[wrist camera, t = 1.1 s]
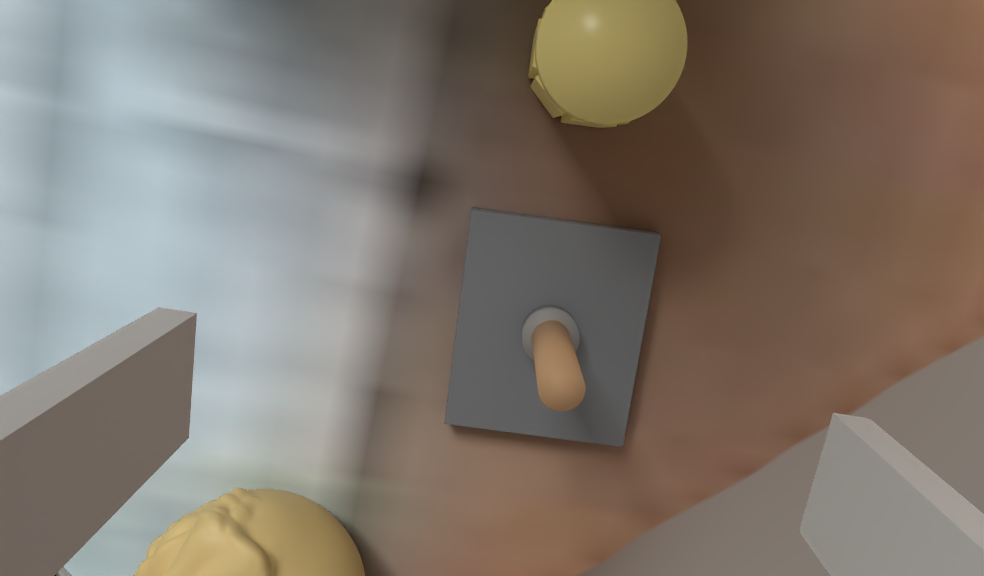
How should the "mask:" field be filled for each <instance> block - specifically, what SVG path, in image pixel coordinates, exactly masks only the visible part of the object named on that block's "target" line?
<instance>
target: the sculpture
mask: <svg viewBox="0 0 984 576" xmlns="http://www.w3.org/2000/svg"><path fill="white" fill-rule="evenodd" d="M146 558H147V559H146V560H144V561H143V562H142V563H141V564H140V565H139V567H138V570H137V571H136V573H135V574H134V576H365V572H364V567H363V563H362V560H361V557H360V554H359V552H358V549H357V547H356V545H355V543H354V542H353V540H352V538H351V537H350V535H349V533H348V532H347V531H346V529H345V528H344V527H343V526H342V524H341V523H340V522H339V521H338V520H337V519H336V518H335V517H334V516H333V515H332V514H331V513H329V512H328V511H327V510H326V509H324V508H323V507H321V506H320V505H318V504H317V503H315V502H313V501H311V500H309V499H307V498H305V497H302V496H300V495H297V494H294V493H290V492H286V491H281V490H273V489H256V490H246V489H242V488H237V489H234V490H232V491H231V492H229V494H224V495H222V496H220V497H219V498H218V499H215V500H212V501H210V502H208V503H206V504H205V505H203V506H202V507H200V508H198V509H197V510H196V511H194V512H193V513H189V514H186V515H184V516H183V517H182V518H180V519H179V520H178V521H177V522H174V523H173V524H171V525H170V526H169V528H168V529H167V532H166V533H164V534H163V535H161V536H159V537H157V538H156V539H155V540H154V541H153V543H152V544H151V545H150V546H149V548H148V551H147V556H146Z"/></svg>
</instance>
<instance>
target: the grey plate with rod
mask: <svg viewBox="0 0 984 576" xmlns="http://www.w3.org/2000/svg"><path fill="white" fill-rule="evenodd" d="M660 240H661V235H660V234H659V233H657V232H653V231H645V230H638V229H630V228H623V227H616V226H608V225H601V224H593V223H586V222H578V221H571V220H563V219H556V218H549V217H541V216H534V215H526V214H519V213H511V212H504V211H496V210H489V209H482V208H474V207H472V210H471V217H470V225H469V233H468V241H467V249H466V257H465V265H464V273H463V281H462V288H461V296H460V304H459V312H458V320H457V328H456V336H455V344H454V352H453V360H452V368H451V376H450V383H449V391H448V399H447V407H446V415H445V423H444V424H450V425H458V426H465V427H473V428H480V429H488V430H496V431H503V432H511V433H518V434H526V435H534V436H541V437H549V438H556V439H564V440H572V441H579V442H587V443H594V444H602V445H610V446H617V447H623V442H624V436H625V431H626V425H627V420H628V415H629V409H630V404H631V398H632V393H633V387H634V382H635V376H636V371H637V365H638V360H639V355H640V349H641V344H642V338H643V333H644V327H645V322H646V316H647V311H648V305H649V300H650V295H651V289H652V284H653V278H654V273H655V267H656V262H657V256H658V251H659V245H660Z"/></svg>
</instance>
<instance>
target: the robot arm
mask: <svg viewBox="0 0 984 576" xmlns="http://www.w3.org/2000/svg"><path fill="white" fill-rule="evenodd" d="M196 317H197V313H192V312H185V311H179V310H173V309H166V308H160V307H159V308H157V309H155V310H153V311H151V312H150V313H148V314H146V315H144V316H143V317H141V318H139V319H137V320H135V321H134V322H132V323H130V324H128V325H126V326H125V327H123V328H121V329H119V330H117V331H116V332H114V333H112V334H110V335H109V336H107V337H105V338H103V339H101V340H100V341H98V342H96V343H94V344H92V345H91V346H89V347H87V348H85V349H84V350H82V351H80V352H78V353H76V354H75V355H73V356H71V357H69V358H67V359H66V360H64V361H62V362H60V363H59V364H57V365H55V366H53V367H51V368H50V369H48V370H46V371H44V372H42V373H41V374H39V375H37V376H35V377H34V378H32V379H30V380H28V381H26V382H25V383H23V384H21V385H19V386H17V387H16V388H14V389H12V390H10V391H9V392H7V393H5V394H3V395H1V396H0V576H54V575H55V574H56V573H57V572H58V571H59V570H60V569H61V568H62V567H63V566H64V565H65V564H66V563H67V562H68V561H69V560H70V559H71V558H72V557H73V556H74V555H75V554H76V553H77V552H78V551H79V550H80V549H81V548H82V547H83V546H84V545H85V544H86V542H87V541H88V540H89V539H90V538H91V537H92V536H93V535H94V534H95V533H96V532H97V531H98V530H99V529H100V528H101V527H102V526H103V525H104V524H105V523H106V522H107V521H108V520H109V519H110V518H111V517H112V516H113V515H114V514H115V513H116V512H117V511H118V510H119V509H120V508H121V507H122V506H123V505H124V504H125V503H126V501H127V500H128V499H129V498H130V497H131V496H132V495H133V494H134V493H135V492H136V491H137V490H138V489H139V488H140V487H141V486H142V485H143V484H144V483H145V482H146V481H147V480H148V479H149V478H150V477H151V476H152V475H153V474H154V473H155V472H156V471H157V470H158V469H159V468H160V467H161V466H162V465H163V464H164V463H165V462H166V461H167V459H168V458H169V457H170V456H171V455H172V454H173V453H174V452H175V451H176V450H177V449H178V448H179V447H180V446H181V445H182V444H183V443H184V442H185V441H186V440H187V439H188V438H189V425H190V409H191V394H192V378H193V363H194V348H195V332H196ZM799 532H800V533H801V535H802V536H803V538H804V539H805V541H806V542H807V544H808V545H809V546H810V548H811V549H812V551H813V552H814V554H815V555H816V556H817V558H818V559H819V561H820V562H821V563H822V565H823V566H824V568H825V569H826V571H827V572H828V573H829V575H830V576H984V514H983V513H982V512H981V511H979V510H978V509H977V508H976V507H975V506H973V505H972V504H971V503H970V502H969V501H967V500H966V499H965V498H964V497H963V496H962V495H960V494H959V493H958V492H957V491H955V490H954V489H953V488H952V487H951V486H950V485H948V484H947V483H946V482H944V480H942V479H941V478H940V477H939V476H938V475H936V474H935V473H934V472H933V471H931V470H930V469H929V468H928V467H927V466H926V465H924V464H923V463H922V462H921V461H920V460H918V459H917V458H916V457H915V456H914V455H912V454H911V453H910V452H909V451H908V450H907V449H905V448H904V447H903V446H902V445H901V444H899V443H898V442H897V441H896V440H895V439H893V438H892V437H891V436H890V435H889V434H887V433H886V432H885V431H884V430H883V429H881V428H880V427H879V426H878V425H877V424H875V423H874V422H873V421H872V420H871V419H869V418H863V417H856V416H850V415H844V414H837V413H833V415H832V418H831V422H830V425H829V429H828V432H827V436H826V439H825V442H824V446H823V449H822V453H821V457H820V460H819V463H818V467H817V470H816V473H815V477H814V480H813V484H812V487H811V491H810V494H809V498H808V501H807V505H806V508H805V511H804V515H803V518H802V522H801V525H800V529H799Z"/></svg>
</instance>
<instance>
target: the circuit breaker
mask: <svg viewBox="0 0 984 576" xmlns="http://www.w3.org/2000/svg"><path fill="white" fill-rule="evenodd" d="M55 575H57V576H71V574H70V573H69V572H68V571H67V570H66V569H65V568H64V567H62V568H61V569H60V570H59V571H58V572H57V573H56V574H55Z"/></svg>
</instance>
